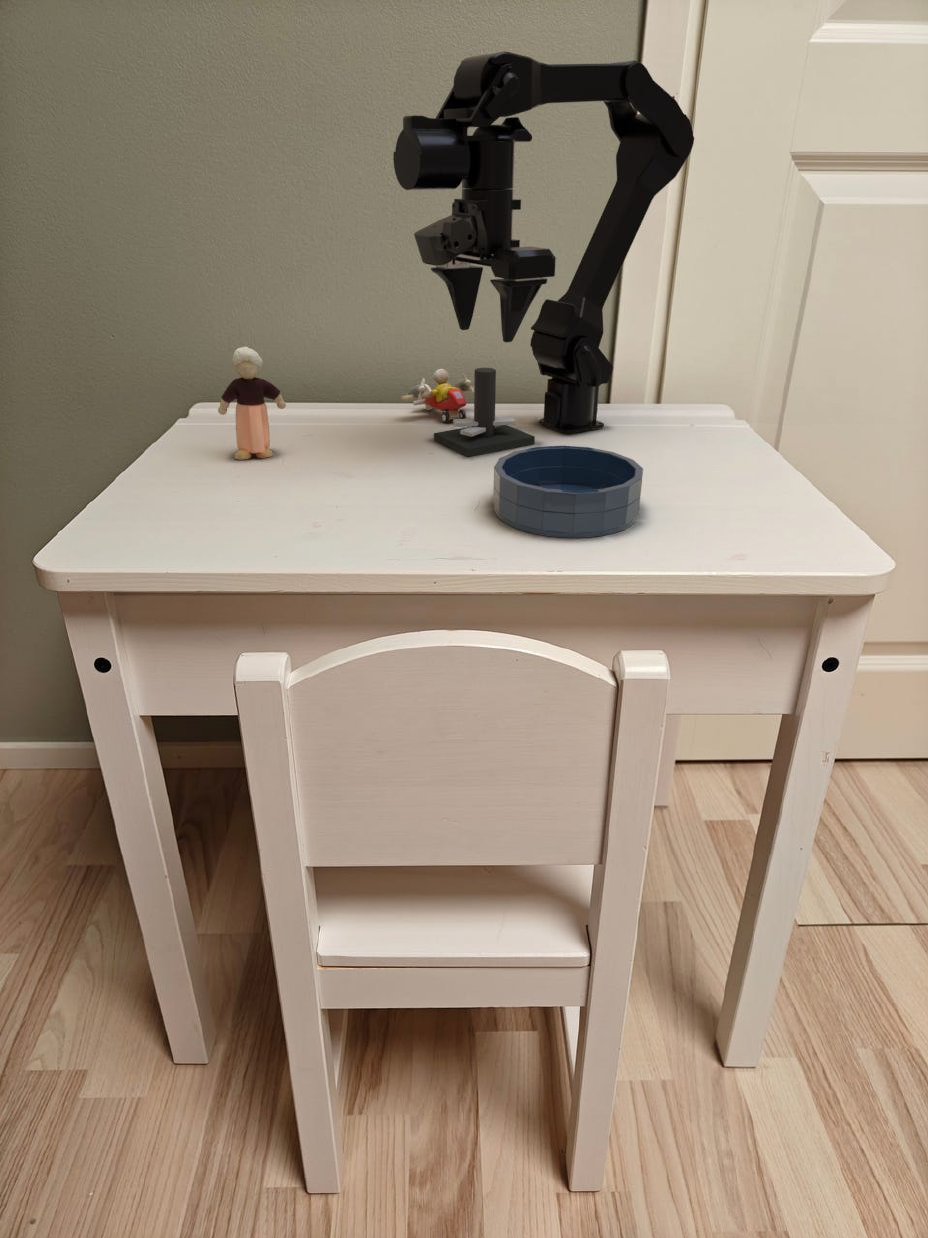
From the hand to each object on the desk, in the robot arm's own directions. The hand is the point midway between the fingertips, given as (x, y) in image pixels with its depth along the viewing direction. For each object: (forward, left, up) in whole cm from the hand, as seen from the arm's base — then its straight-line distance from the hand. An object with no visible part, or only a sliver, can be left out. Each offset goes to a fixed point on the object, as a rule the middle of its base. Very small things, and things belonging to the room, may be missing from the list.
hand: (485, 335), depth 102 cm
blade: (0, 0, -12) cm, 12 cm away
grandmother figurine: (+26, -10, -13) cm, 31 cm away
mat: (0, 0, -13) cm, 13 cm away
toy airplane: (-2, -14, -13) cm, 19 cm away
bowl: (+6, +24, -13) cm, 28 cm away
